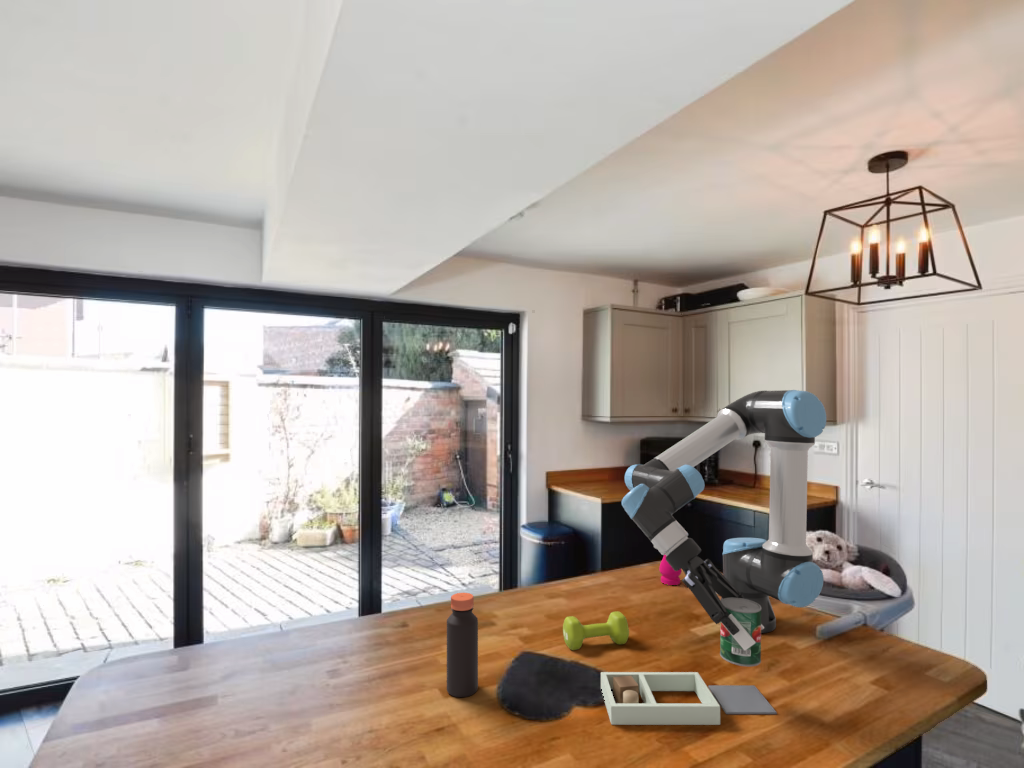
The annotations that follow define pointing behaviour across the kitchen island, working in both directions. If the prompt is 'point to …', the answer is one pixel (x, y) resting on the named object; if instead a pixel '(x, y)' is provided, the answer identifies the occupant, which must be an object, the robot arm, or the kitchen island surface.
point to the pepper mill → (669, 573)
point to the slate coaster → (741, 699)
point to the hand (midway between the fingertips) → (754, 638)
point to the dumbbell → (595, 630)
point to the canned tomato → (751, 622)
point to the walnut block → (624, 687)
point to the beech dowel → (630, 696)
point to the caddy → (661, 711)
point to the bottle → (462, 647)
